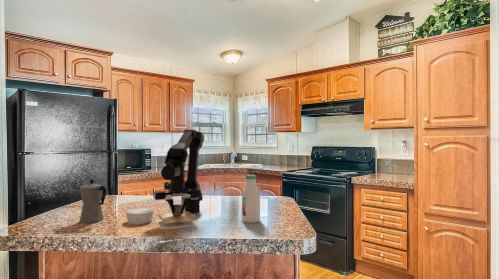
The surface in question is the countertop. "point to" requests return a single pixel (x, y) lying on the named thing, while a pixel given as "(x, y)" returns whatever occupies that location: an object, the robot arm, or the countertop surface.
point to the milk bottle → (251, 201)
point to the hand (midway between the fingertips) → (177, 214)
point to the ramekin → (139, 215)
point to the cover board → (177, 216)
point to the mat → (176, 224)
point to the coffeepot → (92, 202)
